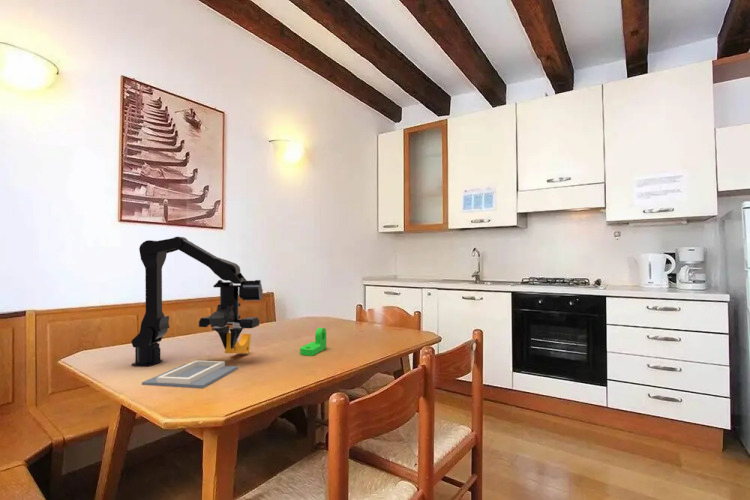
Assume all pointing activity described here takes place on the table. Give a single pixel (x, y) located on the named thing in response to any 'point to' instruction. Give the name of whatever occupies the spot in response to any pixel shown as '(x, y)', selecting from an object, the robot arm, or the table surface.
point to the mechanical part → (315, 343)
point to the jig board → (192, 374)
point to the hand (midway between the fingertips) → (229, 348)
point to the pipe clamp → (238, 344)
